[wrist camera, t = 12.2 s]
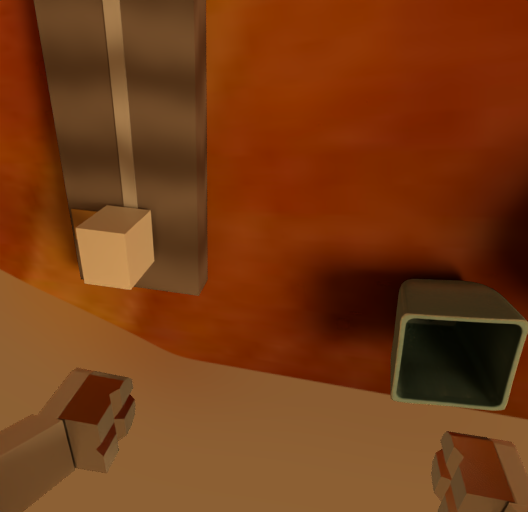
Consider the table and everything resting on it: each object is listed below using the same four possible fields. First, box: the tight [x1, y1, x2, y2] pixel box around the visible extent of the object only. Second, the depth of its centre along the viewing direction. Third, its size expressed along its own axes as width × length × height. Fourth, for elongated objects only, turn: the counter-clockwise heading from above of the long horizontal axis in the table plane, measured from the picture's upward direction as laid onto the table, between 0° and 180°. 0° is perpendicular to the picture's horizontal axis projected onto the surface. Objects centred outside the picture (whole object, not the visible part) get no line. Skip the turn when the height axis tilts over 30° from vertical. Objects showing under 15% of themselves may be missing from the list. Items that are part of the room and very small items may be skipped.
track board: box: [34, 0, 207, 296], centre depth 36 cm, size 26×12×3 cm, turn 176°
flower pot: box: [391, 279, 528, 410], centre depth 36 cm, size 9×9×9 cm
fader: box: [76, 205, 154, 290], centre depth 36 cm, size 5×4×5 cm
